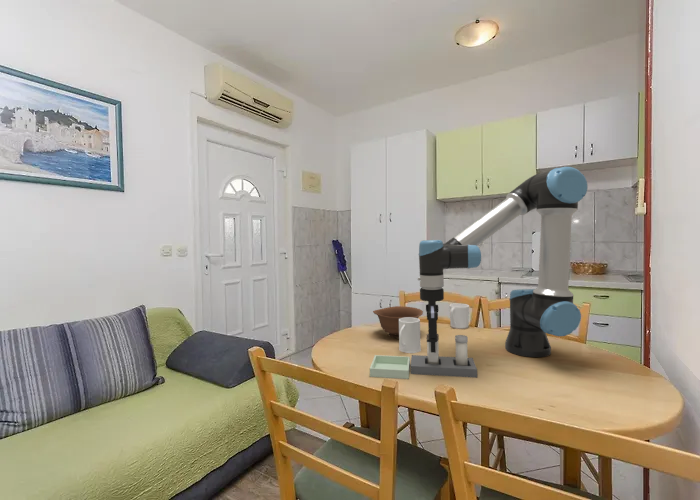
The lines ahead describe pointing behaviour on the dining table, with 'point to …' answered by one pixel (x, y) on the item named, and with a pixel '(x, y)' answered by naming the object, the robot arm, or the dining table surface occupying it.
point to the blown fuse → (428, 350)
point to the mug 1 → (409, 335)
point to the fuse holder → (447, 363)
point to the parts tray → (390, 367)
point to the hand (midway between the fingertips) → (433, 358)
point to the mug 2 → (459, 315)
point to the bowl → (395, 318)
